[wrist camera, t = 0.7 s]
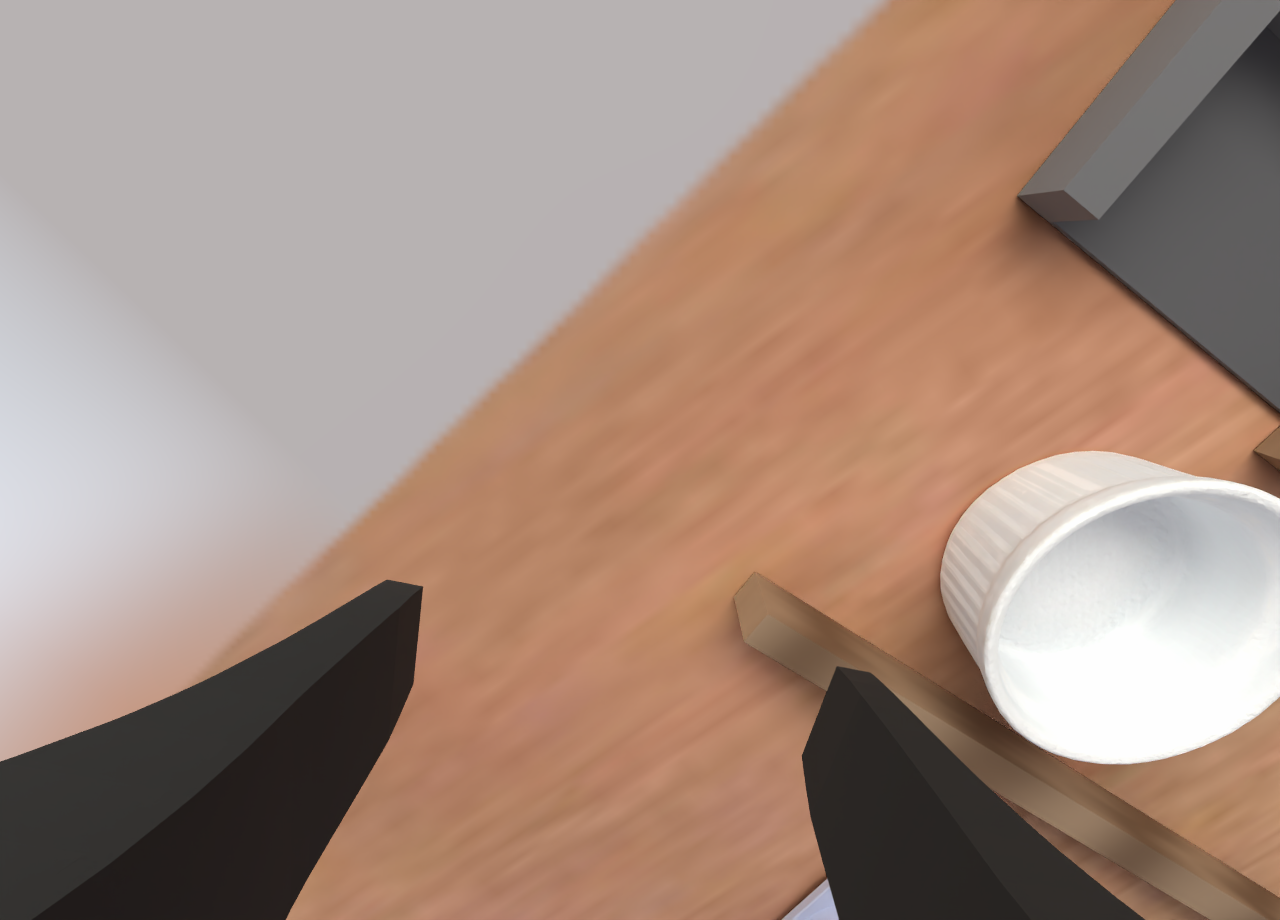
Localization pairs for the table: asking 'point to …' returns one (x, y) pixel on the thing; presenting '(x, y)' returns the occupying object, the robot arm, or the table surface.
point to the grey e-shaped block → (1186, 181)
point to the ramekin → (1119, 604)
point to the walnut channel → (1009, 753)
